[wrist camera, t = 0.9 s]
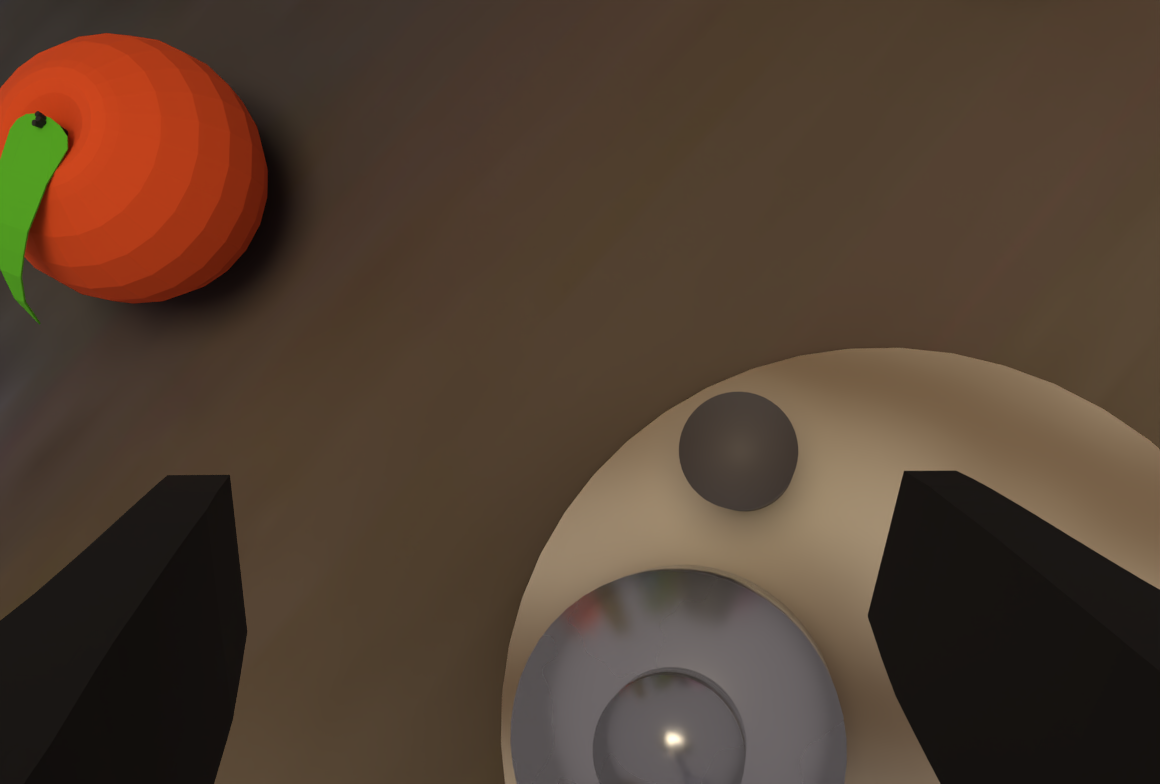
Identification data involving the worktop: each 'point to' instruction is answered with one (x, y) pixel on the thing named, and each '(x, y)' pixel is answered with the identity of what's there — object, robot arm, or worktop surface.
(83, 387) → the worktop surface
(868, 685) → the turntable
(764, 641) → the cover
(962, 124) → the worktop surface
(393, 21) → the worktop surface
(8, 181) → the clementine
